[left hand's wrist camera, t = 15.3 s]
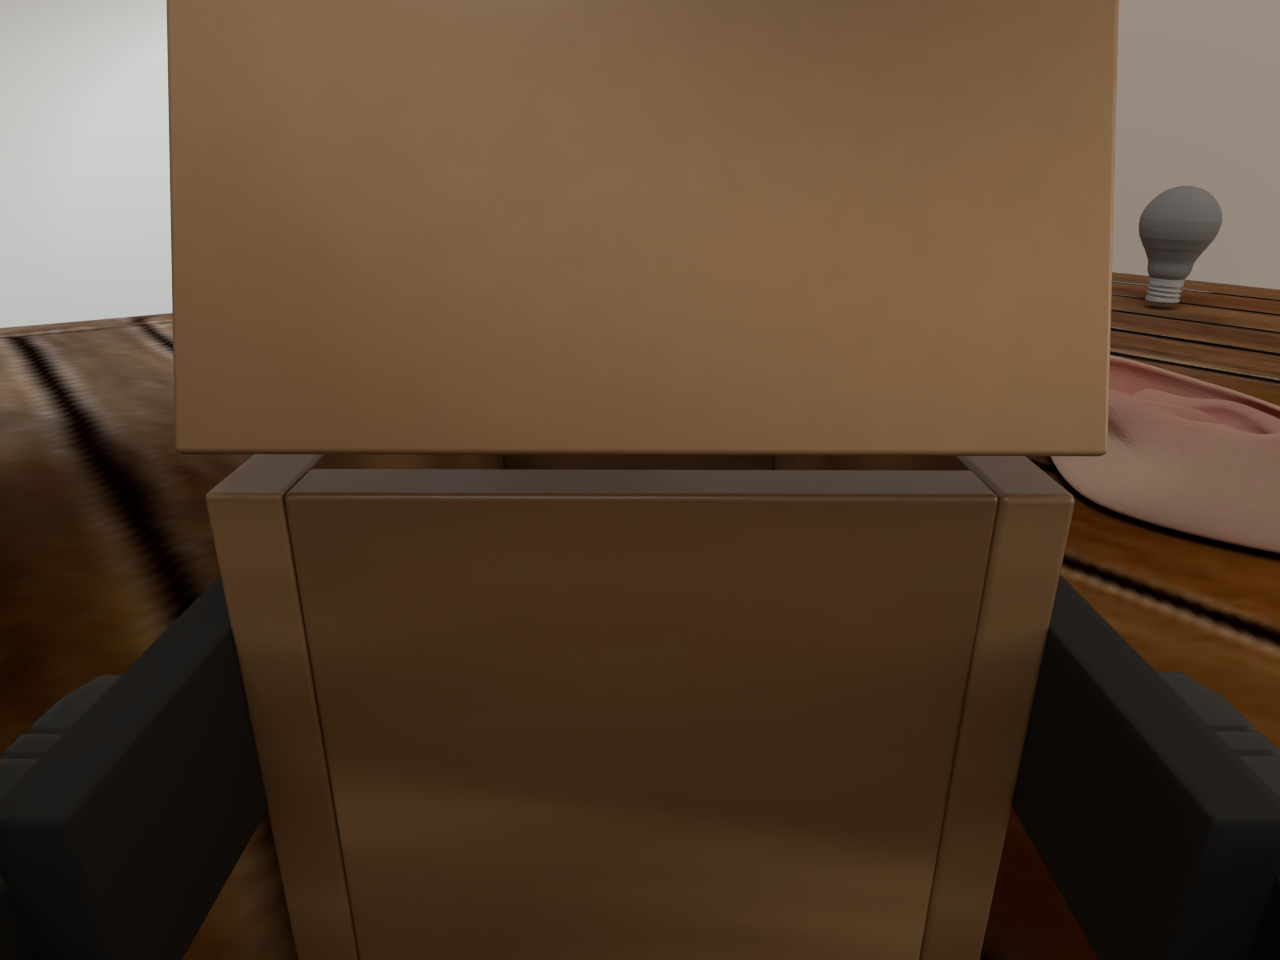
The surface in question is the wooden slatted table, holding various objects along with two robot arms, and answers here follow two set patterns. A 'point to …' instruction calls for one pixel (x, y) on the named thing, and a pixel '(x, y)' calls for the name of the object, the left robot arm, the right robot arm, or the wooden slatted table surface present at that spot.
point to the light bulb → (1176, 238)
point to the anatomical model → (1186, 457)
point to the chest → (639, 697)
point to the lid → (642, 226)
